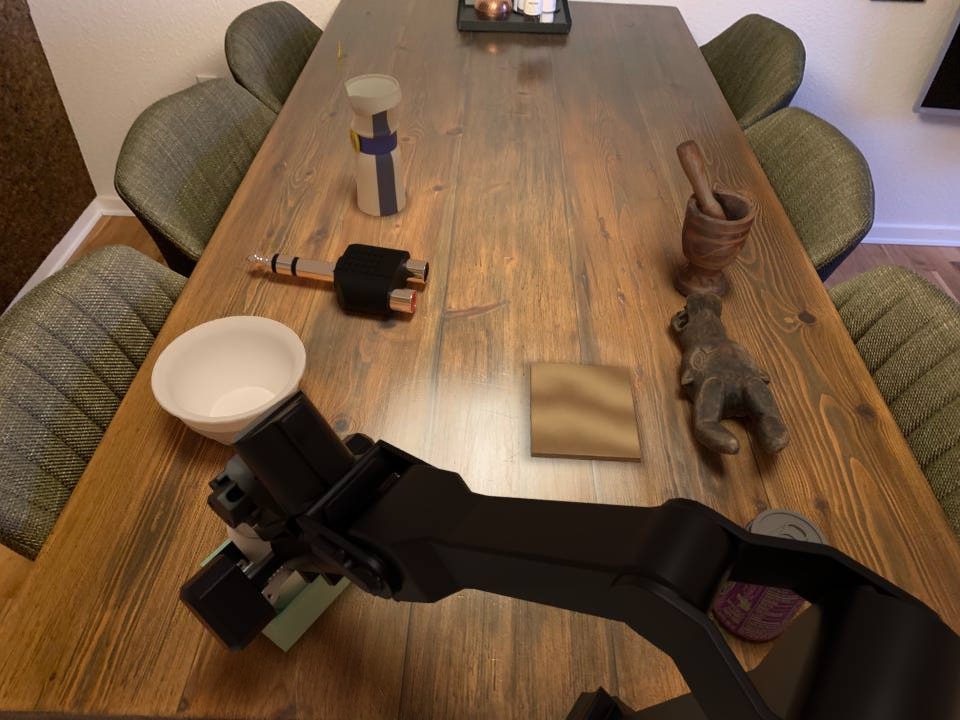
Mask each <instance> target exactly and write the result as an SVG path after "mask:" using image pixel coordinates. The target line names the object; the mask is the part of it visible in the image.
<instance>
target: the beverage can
mask: <svg viewBox="0 0 960 720" xmlns="http://www.w3.org/2000/svg"><path fill="white" fill-rule="evenodd" d="M743 528H744V529H745V530H747V531H748V532H751V533H756V534H762V535H769V536H775V537H782V538H788V539H795V540H801V541H807V542H814V543H820V544H826V545H829V543H828V541H827V539H826V535H824V532H823V531H822V530H821V529H820V527H818V526H817V524H816V523H815V522H813V521H812V520H811V519H810V518H808V517H807V516H805V515H804V514H801V513H799V512H798V511H794V510H792V509H788V508H779V507H778V508H770V509H766V510H764V511H762V512H760V513H759V514H758V515H756V517H754V518H752V519H751V520H749V521H748V522H747V523H746V524H745V525H744V526H743ZM806 602H807V601H806V600H805V599H803V598H802V597H800V596H798V595H797V594H795V593H794V592H792V591H790V590H784V589H777V588H770V587H764V586H757V585H751V584H744V583H738V582H731V581H726V582H725V584H724V586H723V588H722V590H721V592H720V594H719V596H718V598H717V600H716V602H715V604H714V606H713V608H712V609H713V610H714V612H715V614H716V617H718V619H719V620H720V622H721V623H722V624H723V625H724V626H726V628H728V629H729V630H730V631H731V632H733V633H735V634H736V635H738V636H739V637H742V638H744V639H747V640H752V641H759V642H760V641H761V642H762V641H763V642H764V641H769V640H772V639H775V638H777V637H779V636H780V635H782V634H783V633H784V631H785V630H786V629H787V628H788V626H789V625H790V624H791V622H792V621H793V620H794V618H795V616H796V615H797V613H798V612H799V611H800V610H801V608H802V607H803V605H805V603H806Z"/></svg>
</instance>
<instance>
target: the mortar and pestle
mask: <svg viewBox="0 0 960 720" xmlns="http://www.w3.org/2000/svg"><path fill="white" fill-rule="evenodd" d="M675 150H676V156H677V157H678V161H679V164H680V166H681V168H682V170H683V172H684V174H685V176H686V178H687V180H688V181H689V183H690V186H691V188H692V190H693V193H691V195H690V196H689V198H688V200H687V204H686V209H685V216H684V219H683V223H682V230H681V250H682V251H681V252H682V255H683V256H684V258H685V259H686V260H687V261H686V262H685V263H682V264H681V265H679V267H678V268H677V269H676V272H675V274H674V275H673V279H672V283H673V285H674V287H675V288H676V290H678V291H679V292H680V294H682V295H684V296H686V297H688V296H689V295H691V294H695V293H702V292H703V293H710V294H715V295H717V296H718V297H720V299H722V297H723V296H724V295H725V293H726V291H727V276H726V275H725V273H724V272H723V269H725V268H727V267H729V266H730V265H732V264H733V263H734V262H735V261H736V259H737V257H738V255H739V254H741V252H742V250H743V249H744V248H745V247H744V246H745V245H746V242H747V240H748V237H749V234H750V231H751V228H752V225H753V222H754V220H755V217H756V214H757V212H756V207H755V205H754V203H753V202H752V201H751V200H750V199H749V198H747V197H746V196H744V195H741V194H739V193H738V192H735V191H731V190H728V189H721V188H711V187H710V183H709V180H708V177H707V172H706V166H705V163H704V159H703V156H702V153H701V149H700V147H699V146H698V144H697V143H696V141H695V140H694V139H688V140H686V141H683V142H681V143H679V145H677V146H676V148H675Z"/></svg>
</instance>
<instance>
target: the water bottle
mask: <svg viewBox="0 0 960 720" xmlns="http://www.w3.org/2000/svg"><path fill="white" fill-rule="evenodd" d="M337 55H338V69H339V70H341V68H342V62H343V61H342V45H341V42H340V41H339V42H338V54H337ZM343 88H344V90H345V92H346V94H347V95H348V98H349V99H348V100H349V102H348V103H350V107H351V109H352V111H353V118H352V121H351V123H350V128H349V139H350V140H349V141H350V144H351V148H352V150H353V151H354V152H353V159H354V171H355V180H356V197H357V207H358V209H359V210H360V211H361V212H362V213H364V214H367V215H369V216H374V217H388V216H392V215H396V214H398V213H399V212H401V211H402V210H403V209H405V206H406V205H407V199H406V198H407V197H406V190H405V189H406V188H405V182H404V181H405V180H404V172H403V171H404V170H403V169H404V168H403V158H402V151H401V147H400V145H399V143H398V131H397V130H398V129H399V127H400V121H399V120H398V118H397V117H396V115H395V109H394V108H395V107H396V106H397V105H399V104H400V102H401V101H402V99H403V94H402V93H403V92H402V89H401V86H400V82H399V81H398V80H397V79H396V78H394V77H393V76H390V75H387V74H383V73H382V74H381V73H369V74H362V75H357V76H354V77H352V78H350V79H348V80H346V81H345V83H344V85H343Z"/></svg>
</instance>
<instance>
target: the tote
mask: <svg viewBox="0 0 960 720" xmlns="http://www.w3.org/2000/svg"><path fill="white" fill-rule="evenodd" d="M230 542H231V541H230V539H229V538H227V539H226V540H225V541H224V542H223V543H222V544H220V545H219V546H218V547H217V548H216V549H215V550H214V551H213V552H212V553H210V555H208V557H206V558H205V559H204V560H203V561H202V562H200V563H199V566H200V569H201V568H202V567H203V566H205V565H206V564H207V563H208V562H209V561H210V560H211V559H212V558H213V557H214V556H215V555H216V554H218V553H219V552H220V551H221V550H222V549H223V548H224V547H225V546H226V545H227V544H229V543H230ZM350 583H352V582H351V581H350V580H348V579H347V578H346V577H345V576H344V577H343V578H342V579H341V580H340V581H339V582H338V584H337V585H336V586H329V585H328V584H327V582H326V581H325V580H324V579H323V578H322V576H321V575H319V576H318V577H317V578H316V579H315V580H314V581H313V582H312V583H310V584H309V585H308V586H307V587H306V588H305V589H304V590H303V591H302V592H301V593H300V594H299V595H298V596H297V597H296V598H295V599H294V600H293V601H292V602H291V603H290V604H289V605H288V606H287V607H286V608H281V609H277V608H274V609H275V611H276V614H277V616H276V617H275V618H274V619H273V620H272V621H271V622H270V623H269V624H268V625H267V626H266V627H265V628H264V629H263V630H262V631H261V632H260V633H262V634H263V635H265V637H267V638H268V639H269V640H270V641H271V642H273V644H275V645H276V646H277V647H279V648H280V649H281V650H282V651H283V652H285V653H287V652H288V651H289V650H290V649H291V648H292V646H293V645H294V644H295V643H296V642H297V641H298V640H299V639H300V638H301V637H302V635H304V633H306V631H307V630H308V629H309V628H310V627H311V626H312V625H313V624H314V622H316V620H317V619H318V618H319V617H320V616H321V615H322V614H323V613H324V612H325V611H326V610H327V609H328V608H329V606H331V604H332V603H333V602H334V601H335V600H336V599H337V598H338V596H340V594H341V593H342V592H343V591H344V590H345V589H346V588H347V587H348V586H349V584H350Z"/></svg>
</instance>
